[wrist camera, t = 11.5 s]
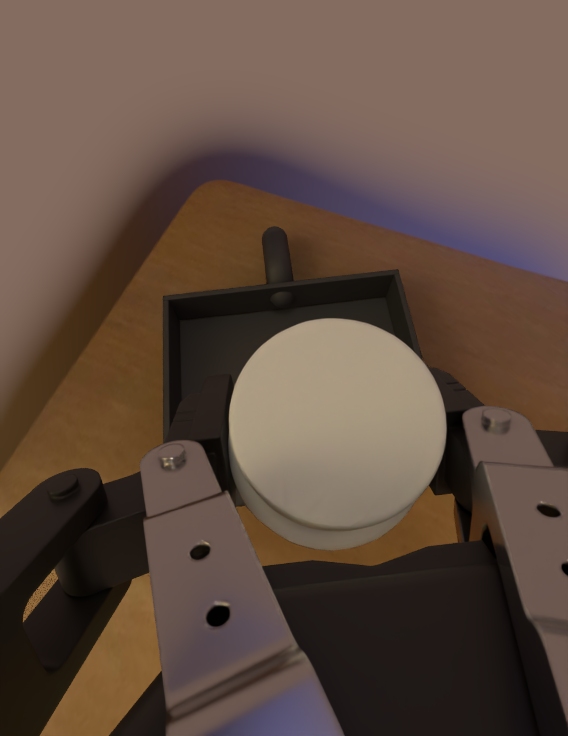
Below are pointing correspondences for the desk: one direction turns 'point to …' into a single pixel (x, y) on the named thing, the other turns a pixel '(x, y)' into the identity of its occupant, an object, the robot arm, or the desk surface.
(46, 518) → the robot arm
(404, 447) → the pill bottle
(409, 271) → the desk surface
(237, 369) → the dustpan
